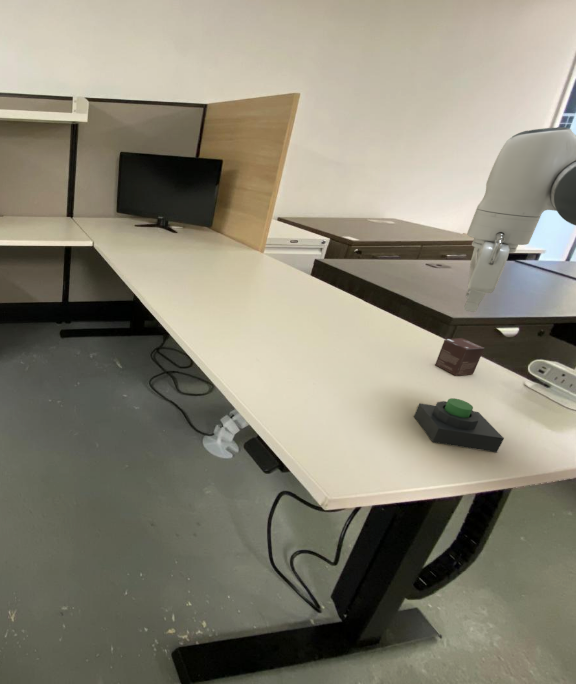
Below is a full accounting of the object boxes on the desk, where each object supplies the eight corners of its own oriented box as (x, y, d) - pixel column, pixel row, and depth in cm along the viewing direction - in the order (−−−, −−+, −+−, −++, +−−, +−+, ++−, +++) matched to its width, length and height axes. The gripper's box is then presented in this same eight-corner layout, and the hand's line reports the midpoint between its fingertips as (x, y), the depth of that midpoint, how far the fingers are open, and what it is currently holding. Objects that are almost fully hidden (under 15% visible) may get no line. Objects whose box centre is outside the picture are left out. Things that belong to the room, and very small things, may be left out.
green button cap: (462, 409, 90) (466, 400, 89) (473, 420, 87) (477, 411, 86) (440, 405, 91) (444, 396, 90) (449, 416, 87) (454, 407, 86)
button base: (472, 425, 94) (482, 404, 92) (497, 452, 86) (508, 430, 84) (413, 416, 95) (422, 395, 93) (432, 442, 87) (442, 420, 85)
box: (473, 374, 115) (485, 348, 112) (455, 376, 114) (466, 349, 111) (451, 363, 121) (462, 337, 118) (433, 364, 119) (444, 338, 116)
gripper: (527, 241, 71) (491, 324, 77) (519, 226, 87) (490, 296, 92) (478, 233, 75) (446, 314, 81) (478, 220, 90) (452, 288, 96)
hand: (469, 304), depth 87 cm, fingers open, 8 cm apart
